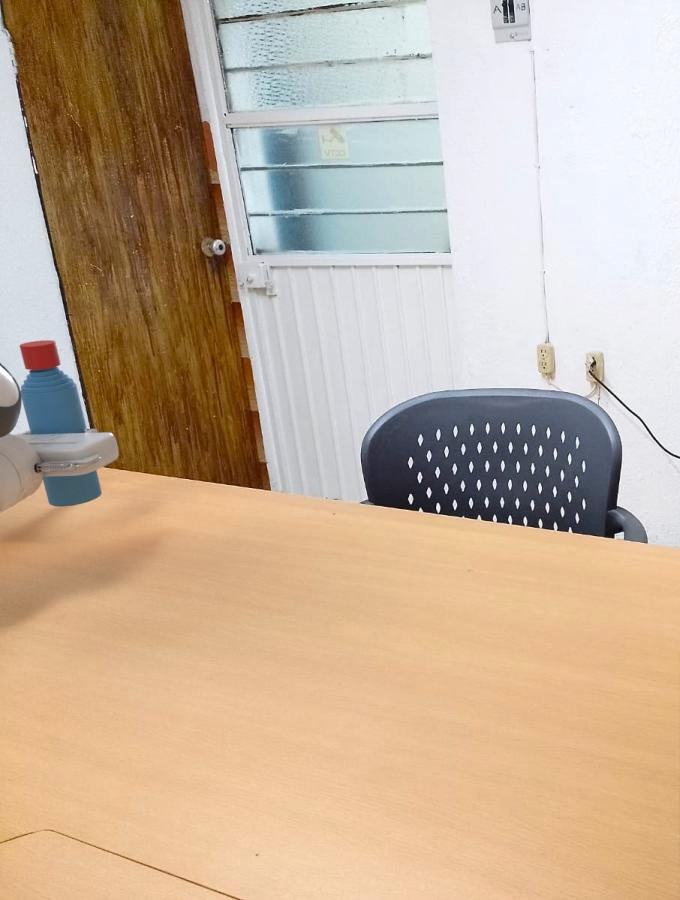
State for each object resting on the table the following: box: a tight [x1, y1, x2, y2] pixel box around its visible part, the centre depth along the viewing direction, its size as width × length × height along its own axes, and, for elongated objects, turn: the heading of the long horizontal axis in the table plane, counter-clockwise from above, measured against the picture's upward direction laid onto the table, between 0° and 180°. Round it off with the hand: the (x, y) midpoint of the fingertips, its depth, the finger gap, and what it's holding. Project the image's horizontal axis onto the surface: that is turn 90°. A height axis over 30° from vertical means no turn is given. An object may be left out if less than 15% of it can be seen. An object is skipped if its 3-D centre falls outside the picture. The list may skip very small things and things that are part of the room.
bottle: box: [20, 366, 102, 508], centre depth 113 cm, size 6×6×22 cm
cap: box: [19, 339, 62, 371], centre depth 109 cm, size 4×4×3 cm
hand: (64, 434), depth 114 cm, fingers closed on bottle, 6 cm apart
